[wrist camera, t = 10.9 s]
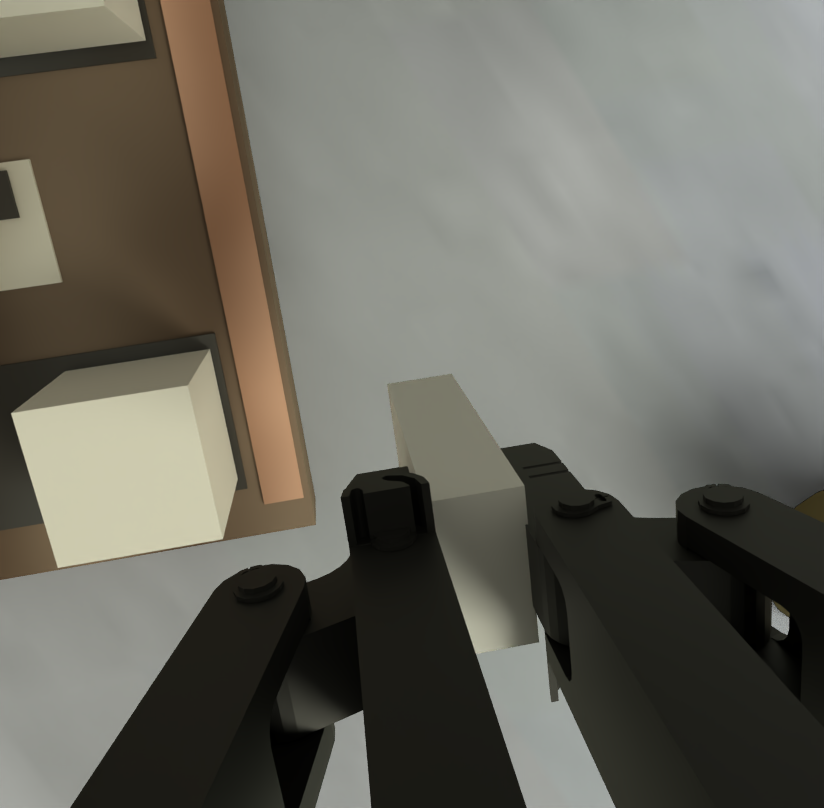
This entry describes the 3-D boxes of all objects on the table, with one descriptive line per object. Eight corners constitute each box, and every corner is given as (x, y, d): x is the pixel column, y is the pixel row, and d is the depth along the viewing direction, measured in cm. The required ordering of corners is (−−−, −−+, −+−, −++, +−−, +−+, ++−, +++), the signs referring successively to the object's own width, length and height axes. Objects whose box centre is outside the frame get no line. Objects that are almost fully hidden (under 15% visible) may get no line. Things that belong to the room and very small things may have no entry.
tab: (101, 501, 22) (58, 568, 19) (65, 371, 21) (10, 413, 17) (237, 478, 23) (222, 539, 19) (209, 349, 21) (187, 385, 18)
